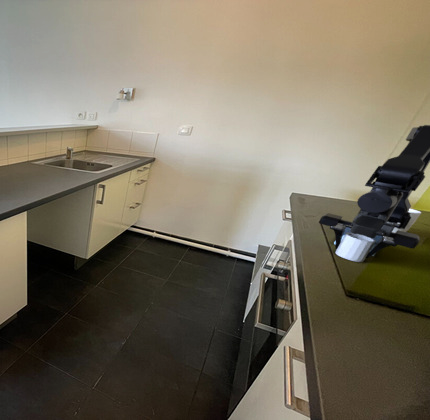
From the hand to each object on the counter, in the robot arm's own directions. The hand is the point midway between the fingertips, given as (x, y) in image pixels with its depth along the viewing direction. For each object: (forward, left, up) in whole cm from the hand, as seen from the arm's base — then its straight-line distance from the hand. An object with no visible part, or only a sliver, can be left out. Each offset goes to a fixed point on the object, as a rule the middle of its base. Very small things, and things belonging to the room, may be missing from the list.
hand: (350, 253), depth 77 cm
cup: (0, 0, -1) cm, 1 cm away
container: (-12, 0, -1) cm, 13 cm away
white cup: (-44, +6, -1) cm, 45 cm away
